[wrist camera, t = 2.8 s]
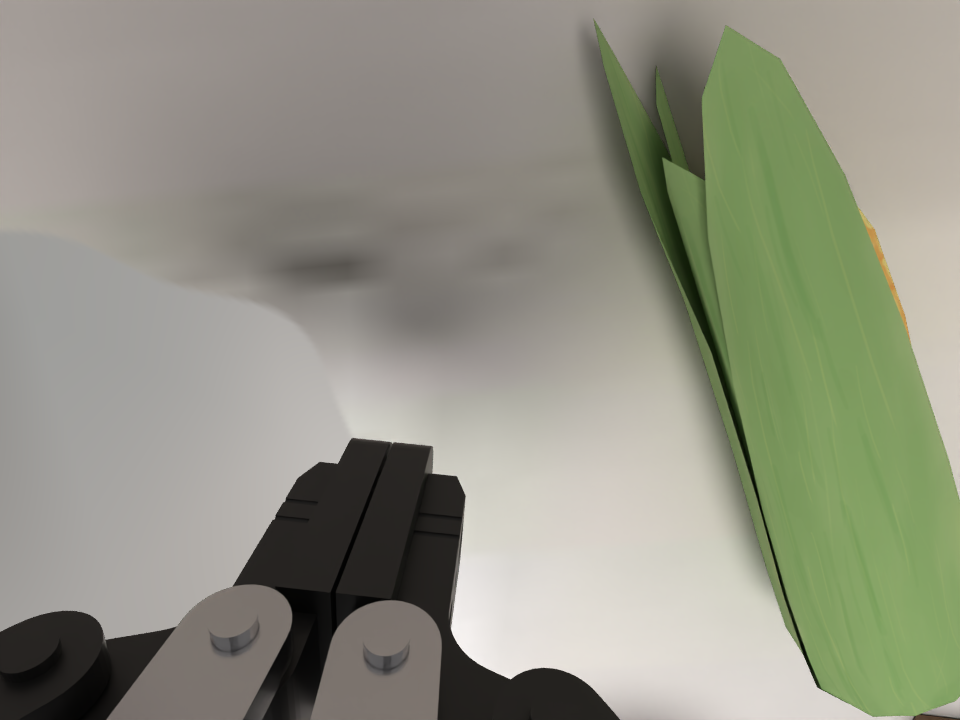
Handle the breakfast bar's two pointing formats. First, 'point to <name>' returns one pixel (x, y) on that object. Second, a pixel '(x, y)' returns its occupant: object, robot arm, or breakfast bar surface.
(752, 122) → the edible corn
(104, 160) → the breakfast bar surface
